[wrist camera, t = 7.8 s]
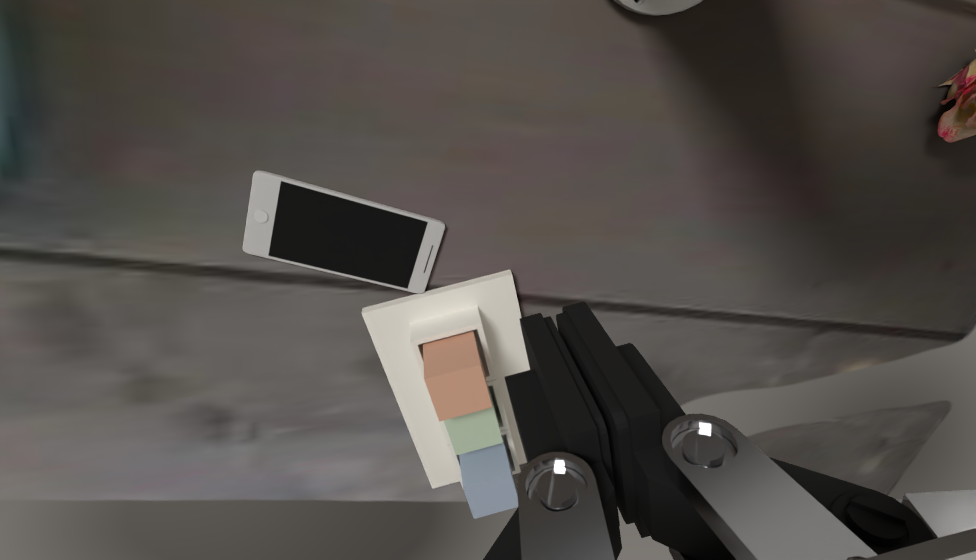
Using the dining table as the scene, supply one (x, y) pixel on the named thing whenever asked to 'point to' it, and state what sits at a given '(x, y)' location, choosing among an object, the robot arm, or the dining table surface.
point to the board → (440, 316)
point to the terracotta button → (455, 376)
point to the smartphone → (340, 233)
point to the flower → (960, 106)
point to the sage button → (474, 430)
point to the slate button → (488, 480)
